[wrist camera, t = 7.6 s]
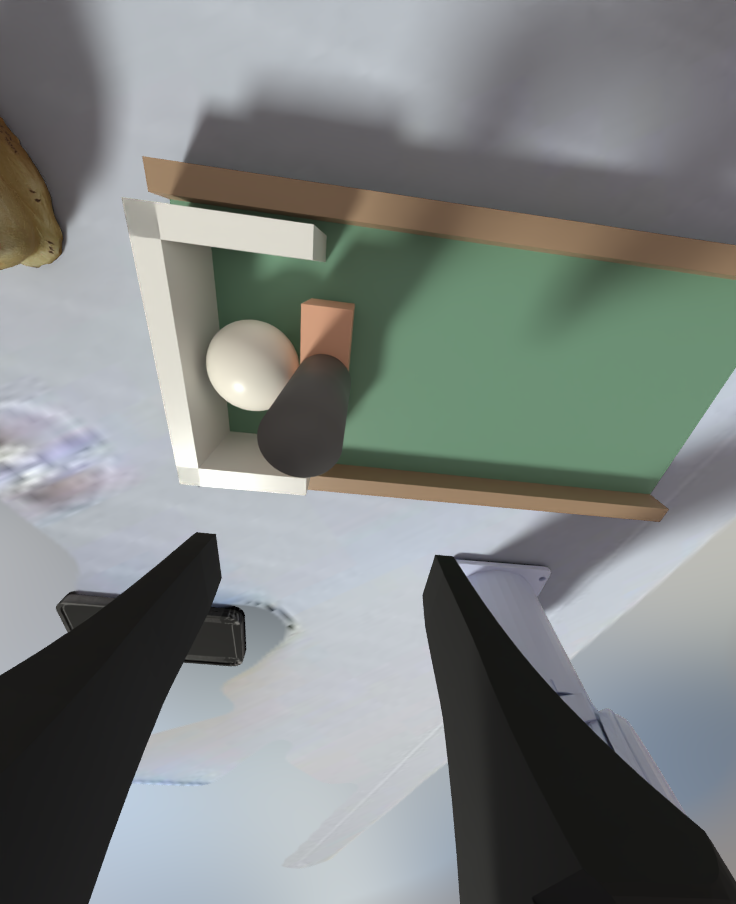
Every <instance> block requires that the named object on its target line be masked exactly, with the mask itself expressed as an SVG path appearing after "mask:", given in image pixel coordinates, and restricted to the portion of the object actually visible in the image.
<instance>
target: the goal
mask: <svg viewBox="0 0 736 904" xmlns="http://www.w3.org/2000/svg"><path fill="white" fill-rule="evenodd" d="M122 202H123V207H124V212H125V217H126V222H127V227H128V232H129V237H130V242H131V247H132V251H133V256H134V261H135V266H136V271H137V276H138V281H139V286H140V291H141V296H142V301H143V305H144V310H145V315H146V320H147V325H148V330H149V335H150V340H151V345H152V350H153V354H154V359H155V364H156V369H157V374H158V379H159V384H160V389H161V394H162V399H163V404H164V408H165V413H166V418H167V423H168V428H169V433H170V438H171V443H172V448H173V453H174V458H175V462H176V467H177V472H178V477H179V482H180V484H184V485H195V486H206V487H217V488H228V489H240V490H251V491H262V492H273V493H284V494H295V495H306V493H307V489H308V485H309V482H310V478H311V477H309V478H299V477H293V476H289V475H287V474H284V473H282V472H280V471H278V470H277V469H275V468H274V467H273V466H271V465H270V464H269V463H268V462H267V461H266V459H265V458H264V457H263V455H262V453H261V451H260V449H259V446H258V441H257V434H253V433H243V432H233V431H230V427H229V417H228V407H227V401H226V400H225V399H224V398H222V397H221V396H220V395H219V393H218V392H217V391H216V390H215V388H214V387H213V385H212V383H211V381H210V379H209V376H208V373H207V369H206V354H207V350H208V347H209V344H210V342H211V340H212V339H213V337H214V336H215V335H216V333H217V332H219V331H220V328H219V319H218V309H217V299H216V289H215V279H214V269H213V260H212V250H211V247H216V248H223V249H230V250H238V251H245V252H253V253H260V254H267V255H275V256H282V257H290V258H297V259H304V260H312V261H319V262H326V241H327V236H326V235H325V234H324V233H323V232H322V231H321V230H319V229H318V228H317V227H316V226H315V225H314V224H307V223H300V222H293V221H286V220H279V219H272V218H264V217H257V216H250V215H243V214H236V213H229V212H222V211H215V210H208V209H201V208H194V207H187V206H180V205H173V204H166V203H159V202H152V201H145V200H138V199H131V198H124V197H122Z"/></svg>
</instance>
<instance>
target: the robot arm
mask: <svg viewBox="0 0 736 904" xmlns="http://www.w3.org/2000/svg"><path fill="white" fill-rule="evenodd" d="M550 575H551V571H550V570H549V568H548V567H543V566H531V565H519V564H506V563H494V562H482V561H469V560H455V558H454V557H453V556H442V555H435V558H434V561H433V564H432V567H431V570H430V573H429V576H428V580H427V583H426V586H425V589H424V592H423V607H424V618H425V628H426V633H427V638H428V644H429V649H430V654H431V659H432V664H433V669H434V674H435V679H436V684H437V689H438V694H439V699H440V704H441V710H442V716H443V723H444V731H445V740H446V748H447V757H448V765H449V775H450V786H451V796H452V806H453V817H454V829H455V841H456V853H457V866H458V878H459V879H458V880H459V894H460V904H736V881H735V880H734V878H733V876H732V875H731V873H730V871H729V870H728V868H727V866H726V865H725V863H724V861H723V860H722V858H721V857H720V855H719V853H718V852H717V850H716V848H715V847H714V845H713V843H712V842H711V840H710V839H709V837H708V836H707V834H706V833H705V831H704V830H703V829H701V828H700V827H699V826H698V825H697V824H695V823H694V822H693V821H692V820H691V819H690V818H688V817H687V815H686V814H685V812H684V810H683V808H682V807H681V806H680V803H679V802H678V800H677V798H676V797H675V795H674V793H673V791H672V790H671V788H670V787H669V785H668V783H667V781H666V780H665V778H664V777H663V775H662V773H661V771H660V770H659V768H658V767H657V765H656V763H655V762H654V760H653V758H652V757H651V755H650V754H649V752H648V750H647V749H646V747H645V746H644V744H643V742H642V741H641V739H640V738H639V736H638V735H637V733H636V732H635V730H634V729H633V727H632V726H631V725H630V723H629V722H628V721H627V720H626V719H624V718H623V717H621V716H619V715H617V714H615V713H614V712H613V711H612V710H610V709H608V708H606V709H603V710H601V711H598V710H597V709H596V707H595V706H594V705H593V704H592V702H591V700H590V698H589V696H588V694H587V693H586V691H585V689H584V687H583V685H582V683H581V681H580V679H579V677H578V675H577V673H576V671H575V669H574V668H573V666H572V664H571V662H570V660H569V658H568V656H567V654H566V652H565V650H564V648H563V646H562V645H561V643H560V641H559V639H558V637H557V635H556V633H555V631H554V629H553V627H552V625H551V623H550V621H549V620H548V618H547V616H546V614H545V612H544V610H543V608H542V606H541V604H540V602H539V600H538V598H537V597H538V596H539V594H540V592H541V590H542V589H543V587H544V585H545V583H546V582H547V580H548V578H549V577H550ZM221 578H222V577H221V570H220V562H219V555H218V547H217V540H216V534H209V533H198V532H196V533H195V534H194V535H192V536H191V537H190V538H189V539H188V540H186V541H185V542H184V543H183V544H182V545H180V546H179V547H178V548H177V549H176V550H175V551H173V552H172V553H171V554H170V555H169V556H167V557H166V558H165V559H164V560H163V561H161V562H160V563H159V564H158V565H157V566H155V567H154V568H153V569H152V570H151V571H149V572H148V573H147V574H146V575H144V576H143V577H142V578H141V579H139V580H138V581H137V582H136V583H134V584H133V585H132V586H131V587H129V588H128V589H127V590H126V591H124V592H123V593H122V594H120V595H119V596H118V597H116V598H115V599H114V600H112V601H111V602H110V603H108V604H107V605H106V606H104V607H103V608H102V609H100V610H99V611H98V612H96V613H95V614H94V615H92V616H91V617H89V618H88V619H87V620H85V621H84V622H82V623H81V624H80V625H78V626H77V627H75V628H74V629H72V630H71V631H69V632H68V633H67V634H65V635H63V636H62V637H60V638H59V639H58V640H56V641H55V642H53V643H52V644H50V645H49V646H47V647H46V648H44V649H42V650H41V651H39V652H38V653H36V654H34V655H33V656H31V657H30V658H28V659H27V660H25V661H23V662H22V663H20V664H18V665H17V666H15V667H13V668H12V669H10V670H8V671H7V672H5V673H3V674H2V675H0V904H88V903H89V900H90V898H91V895H92V892H93V889H94V886H95V883H96V880H97V877H98V874H99V872H100V869H101V866H102V863H103V860H104V857H105V854H106V851H107V849H108V846H109V843H110V840H111V837H112V835H113V832H114V829H115V827H116V824H117V821H118V818H119V816H120V813H121V810H122V807H123V805H124V802H125V799H126V797H127V794H128V791H129V788H130V786H131V783H132V781H133V778H134V776H135V773H136V771H137V768H138V765H139V763H140V760H141V758H142V755H143V752H144V750H145V747H146V745H147V742H148V740H149V737H150V735H151V732H152V730H153V728H154V725H155V723H156V720H157V718H158V715H159V713H160V710H161V708H162V705H163V703H164V701H165V699H166V696H167V694H168V692H169V690H170V688H171V686H172V684H173V682H174V680H175V678H176V676H177V674H178V672H179V670H180V668H181V666H182V664H183V662H184V660H185V658H186V656H187V654H188V652H189V650H190V648H191V646H192V644H193V642H194V640H195V638H196V636H197V634H198V632H199V630H200V628H201V626H202V624H203V622H204V620H205V618H206V616H207V614H208V612H209V610H210V608H211V605H212V603H213V600H214V597H215V595H216V592H217V589H218V586H219V584H220V581H221Z"/></svg>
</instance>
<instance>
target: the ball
mask: <svg viewBox="0 0 736 904" xmlns="http://www.w3.org/2000/svg"><path fill="white" fill-rule="evenodd" d="M298 367H299V359H298V356H297V353H296V350H295V348H294V346H293V345H292V343H291V341H290V340H289V339H288V338H287V337H286V335H285V334H283V333H282V332H281V331H280V330H279V329H277V328H276V327H274V326H272V325H270V324H268V323H265V322H262V321H258V320H240V321H235V322H233V323H230V324H228V325H226V326H225V327H223V328H222V329H221V330H220V331H219V332H217V333H216V335H215V336H214V337H213V339H212V340H211V342H210V344H209V347H208V350H207V354H206V369H207V373H208V376H209V379H210V381H211V383H212V385H213V387H214V388H215V390H216V391H217V392H218V393H219V395H220V396H221V397H222V398H224V399H225V400H226V401H227V402H229V403H231V404H232V405H234V406H236V407H239V408H241V409H245V410H250V411H264V410H268V409H269V408H270V407H271V405H272V404H273V403H274V401H275V400H276V398H277V397H278V395H279V394H280V392H281V391H282V390H283V388H284V387H285V385H286V384H287V382H288V381H289V380H290V378H291V377H292V375H293V374H294V372H295V371H296V370H297V368H298Z"/></svg>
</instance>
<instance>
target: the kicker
mask: <svg viewBox="0 0 736 904" xmlns="http://www.w3.org/2000/svg"><path fill="white" fill-rule="evenodd" d="M354 309H355V304H354V303H346V302H338V301H330V300H322V299H314V298H311V299H309V300H307V301H305V302H303V303H302V304H301V347H300V365H299V367H298V368H297V370H296V371H295V372H294V374H293V375H292V377H291V378H290V380H289V381H288V382H287V384H286V385H285V387H284V388H283V390H282V391H281V392H280V394H279V395H278V397H277V398H276V400H275V401H274V403H273V404H272V405H271V407H270V408H269V410H268V411H267V413H266V414H265V415H264V417H263V418H262V420H261V422H260V424H259V427H258V431H257V441H258V446H259V449H260V451H261V453H262V455H263V457H264V458H265V459H266V461H267V462H268V463H269V464H270V465H271V466H273V467H274V468H275V469H277V470H278V471H280V472H282V473H284V474H287V475H289V476H293V477H299V478H309V477H315V476H318V475H321V474H323V473H325V472H327V471H329V470H330V469H331V468H332V467H333V466H334V465H335V464H336V463H337V461H338V460H339V458H340V456H341V453H342V448H343V441H344V434H345V426H346V419H347V411H348V403H349V396H350V388H351V378H350V374H349V365H350V354H351V343H352V332H353V320H354Z"/></svg>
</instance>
